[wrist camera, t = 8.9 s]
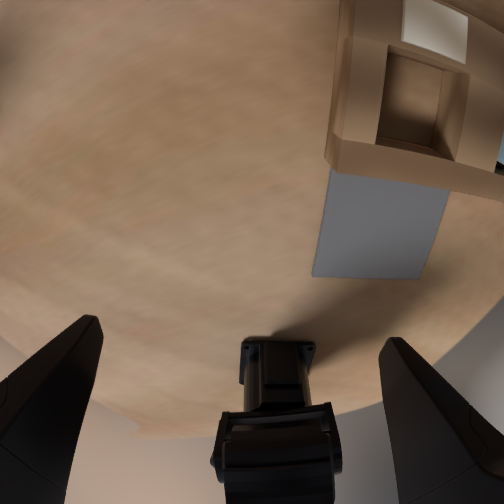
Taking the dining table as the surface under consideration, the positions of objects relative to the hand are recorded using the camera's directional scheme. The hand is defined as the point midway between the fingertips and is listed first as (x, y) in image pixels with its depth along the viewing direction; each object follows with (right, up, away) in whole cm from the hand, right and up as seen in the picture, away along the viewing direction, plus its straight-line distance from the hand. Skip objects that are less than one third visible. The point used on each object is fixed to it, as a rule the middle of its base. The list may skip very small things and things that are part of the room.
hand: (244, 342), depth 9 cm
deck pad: (+9, +5, +11) cm, 15 cm away
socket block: (+14, +12, +6) cm, 20 cm away
